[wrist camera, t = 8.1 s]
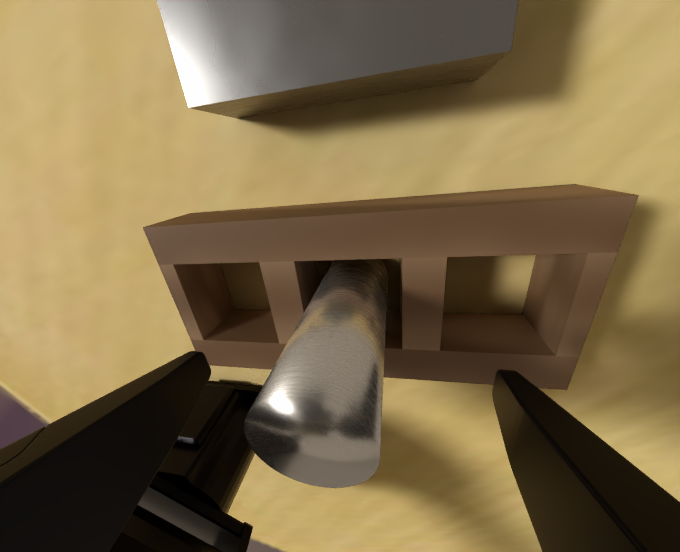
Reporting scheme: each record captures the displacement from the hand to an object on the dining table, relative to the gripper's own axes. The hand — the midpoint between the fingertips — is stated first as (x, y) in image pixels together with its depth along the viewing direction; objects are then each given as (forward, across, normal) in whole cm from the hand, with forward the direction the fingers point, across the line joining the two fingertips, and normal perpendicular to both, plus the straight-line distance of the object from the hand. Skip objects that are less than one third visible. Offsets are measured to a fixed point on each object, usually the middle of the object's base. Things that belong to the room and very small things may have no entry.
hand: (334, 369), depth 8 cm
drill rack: (+7, 0, 0) cm, 7 cm away
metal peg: (+7, 0, 0) cm, 7 cm away
